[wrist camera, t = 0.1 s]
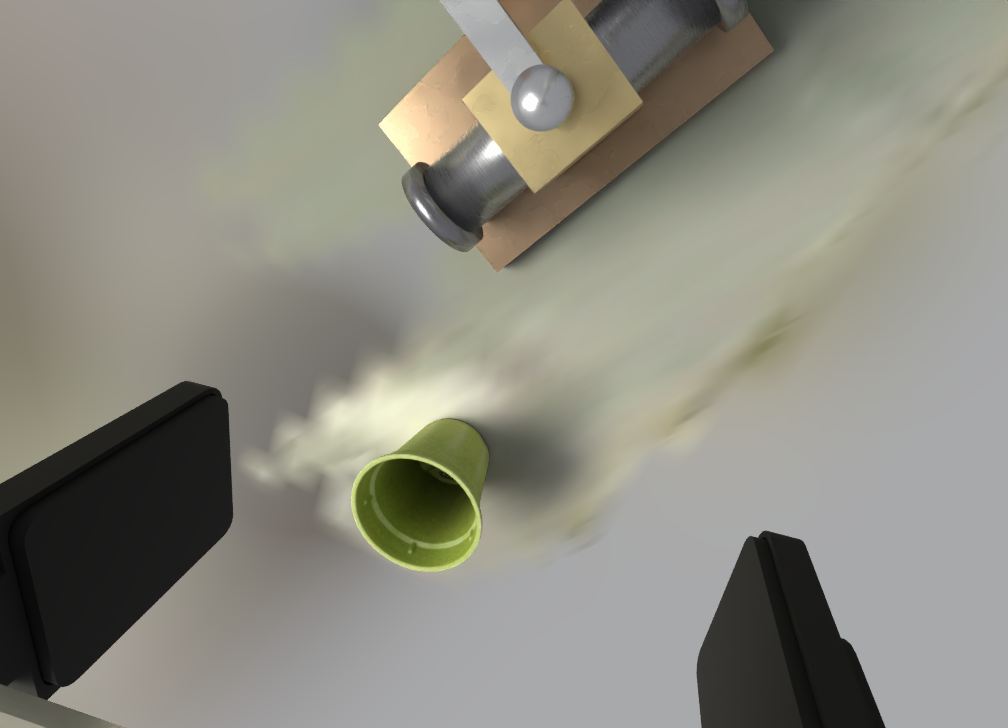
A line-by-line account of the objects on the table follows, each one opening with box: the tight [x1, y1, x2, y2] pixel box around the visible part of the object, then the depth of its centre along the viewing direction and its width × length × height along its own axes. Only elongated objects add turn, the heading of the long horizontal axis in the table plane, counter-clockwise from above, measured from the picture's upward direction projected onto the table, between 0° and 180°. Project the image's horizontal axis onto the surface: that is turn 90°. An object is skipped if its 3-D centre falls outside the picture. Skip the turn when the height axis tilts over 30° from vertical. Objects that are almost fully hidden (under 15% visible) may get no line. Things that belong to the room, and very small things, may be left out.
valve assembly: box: [379, 0, 774, 272], centre depth 31 cm, size 20×12×11 cm, turn 130°
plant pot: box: [351, 419, 489, 572], centre depth 43 cm, size 9×9×9 cm
